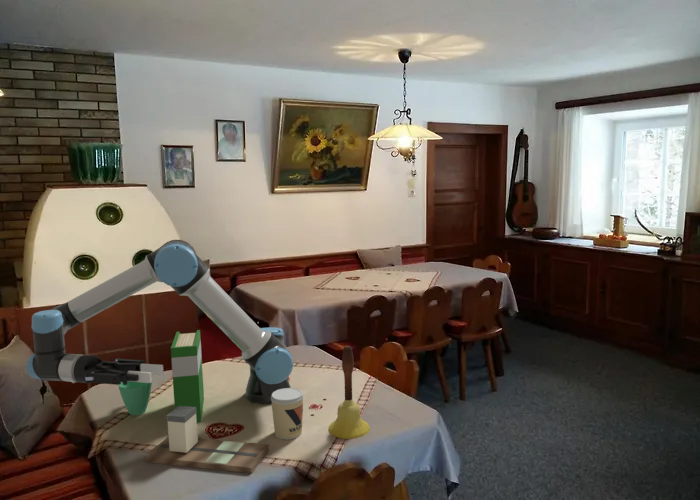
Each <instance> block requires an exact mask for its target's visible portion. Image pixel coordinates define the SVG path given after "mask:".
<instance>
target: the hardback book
mask: <svg viewBox="0 0 700 500" xmlns="http://www.w3.org/2000/svg"><path fill="white" fill-rule="evenodd" d="M170 357H171V369H172V370H171V371H172V373H171V374H172V384H173V385H172V386H173V389H172V390H173V402H174V403H173V404H174V409H175V408H177V407H178V406H189V407H196V411H197V413H196V419H197V423H202V419H203V418H202V417H203V409H204V402H205V393H204V392H205V391H204V378H203V377H204V375H203V374H204V373H203V357H202V342H201V330H200V329H197V330H196V332H188V333H180V331H176V332H175V336H174V338H173V341H172V344H171V346H170Z"/></svg>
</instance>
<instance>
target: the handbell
mask: <svg viewBox="0 0 700 500" xmlns="http://www.w3.org/2000/svg"><path fill="white" fill-rule="evenodd" d="M354 363H355V362H354V352H353V348H352V347H351V345H344V346H343V350H342V356H341V369H342V373H343V375H344V401H342V402H340V404H339V405H338V406H337V412H336V414H337V418H336V419H335V420H334V421H332V422H331V423H330V424H329V426H328V430H327V431H328V432H329V433H328V434H330V435H332V436H333V437H334V438H335V437H336V438H338V439H343V440H345V439H346V440H347V439H348V440H351V439H359V438H362V437H364V436H366V435H367V434H369V432H370V431H371V427H370V425H369V423H368V422H367V421H365V420H363V418H362V417H361V407H360V405H359V404H358V403H357V402H355V401H354V400H353V371H354V365H355V364H354Z"/></svg>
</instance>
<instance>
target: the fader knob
mask: <svg viewBox="0 0 700 500" xmlns="http://www.w3.org/2000/svg"><path fill="white" fill-rule="evenodd" d="M196 413H197V411H196V407H189V406H178V407H177V408H175V407H174V409H173V410H172V411H170V412H169V413H168V414H167V415H166V422H167V432H168V436H169V449H170V451H175V452H184V453H187V452H188V451H189V450H190V449H191V448H192V447H193V446H194V445H195V444H196V443H197V442H198V438H199V437H198V424H197V423H198V422H197V419H196Z"/></svg>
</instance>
